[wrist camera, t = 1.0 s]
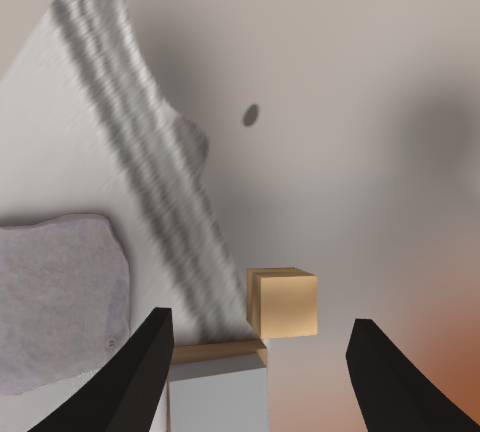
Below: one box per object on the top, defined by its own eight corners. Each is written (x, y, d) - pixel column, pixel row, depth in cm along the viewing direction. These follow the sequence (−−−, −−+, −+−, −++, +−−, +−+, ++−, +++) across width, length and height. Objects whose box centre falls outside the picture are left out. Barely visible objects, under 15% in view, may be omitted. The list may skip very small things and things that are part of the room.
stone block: (113, 206, 26) (-31, 232, 22) (115, 201, 22) (-64, 233, 18) (143, 336, 27) (8, 384, 23) (150, 357, 23) (-14, 422, 18)
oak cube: (294, 316, 28) (317, 334, 23) (246, 320, 27) (260, 339, 22) (294, 267, 28) (316, 275, 23) (246, 268, 27) (261, 277, 22)
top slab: (260, 439, 25) (270, 463, 22) (172, 457, 23) (172, 485, 21) (257, 353, 25) (266, 367, 22) (169, 365, 23) (169, 382, 21)
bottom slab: (258, 427, 27) (267, 447, 25) (167, 441, 25) (166, 464, 23) (258, 337, 27) (267, 348, 25) (168, 345, 26) (167, 357, 23)
